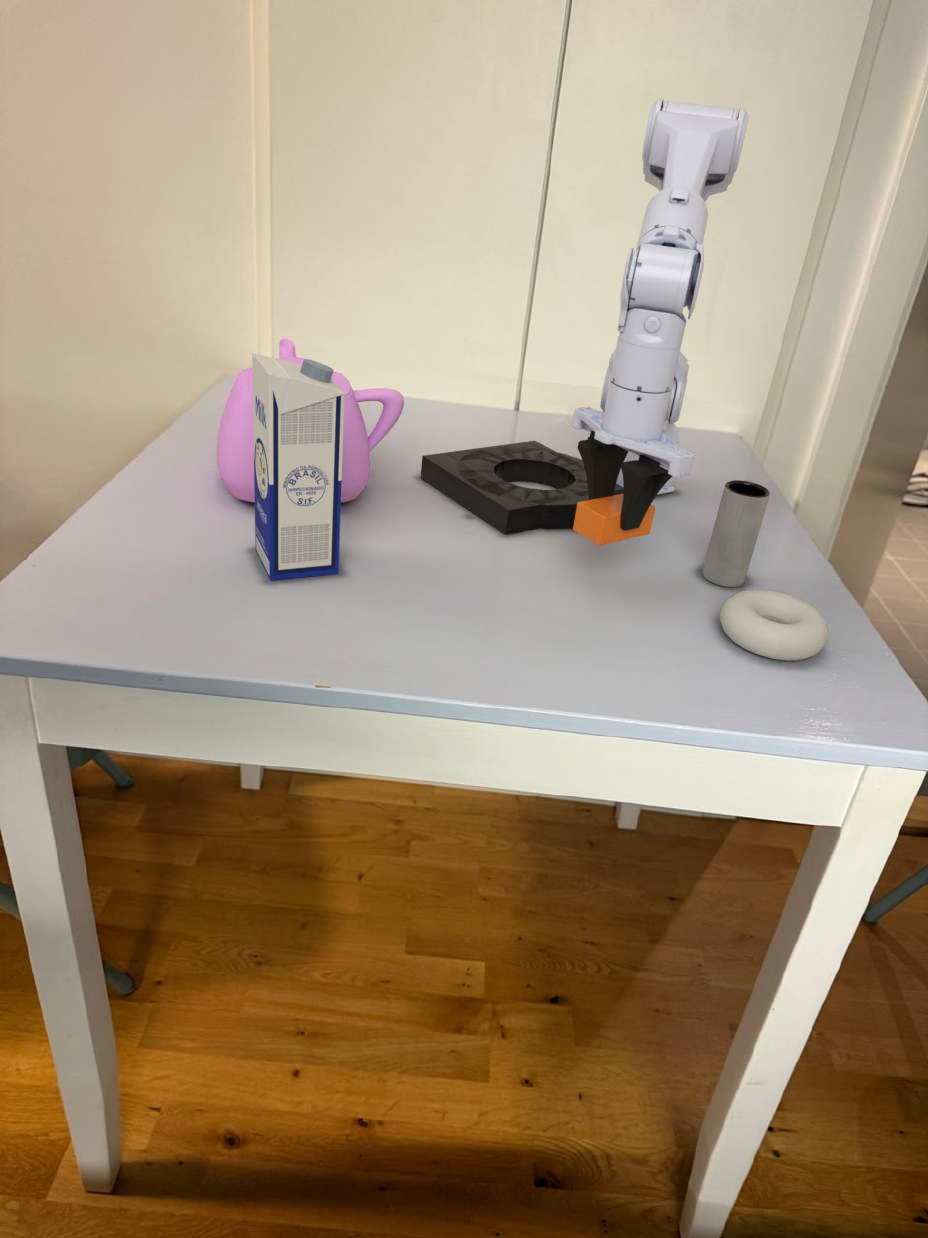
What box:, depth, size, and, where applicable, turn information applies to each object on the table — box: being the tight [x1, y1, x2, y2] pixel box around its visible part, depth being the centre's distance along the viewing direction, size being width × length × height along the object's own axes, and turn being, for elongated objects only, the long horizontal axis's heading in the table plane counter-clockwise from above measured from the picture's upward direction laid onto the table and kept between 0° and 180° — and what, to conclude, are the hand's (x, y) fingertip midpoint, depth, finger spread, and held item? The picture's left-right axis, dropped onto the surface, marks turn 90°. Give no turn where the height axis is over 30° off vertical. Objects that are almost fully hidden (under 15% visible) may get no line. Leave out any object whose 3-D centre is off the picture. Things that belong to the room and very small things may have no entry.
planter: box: [701, 479, 771, 588], centre depth 94 cm, size 4×4×10 cm
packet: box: [572, 494, 656, 546], centre depth 90 cm, size 7×4×3 cm, turn 124°
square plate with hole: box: [420, 440, 624, 536], centre depth 110 cm, size 20×20×3 cm
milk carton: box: [251, 353, 345, 582], centre depth 84 cm, size 7×7×20 cm
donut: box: [719, 589, 829, 662], centre depth 85 cm, size 10×4×10 cm
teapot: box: [215, 338, 405, 504], centre depth 105 cm, size 23×21×15 cm
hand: (613, 518), depth 90 cm, fingers closed on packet, 4 cm apart
